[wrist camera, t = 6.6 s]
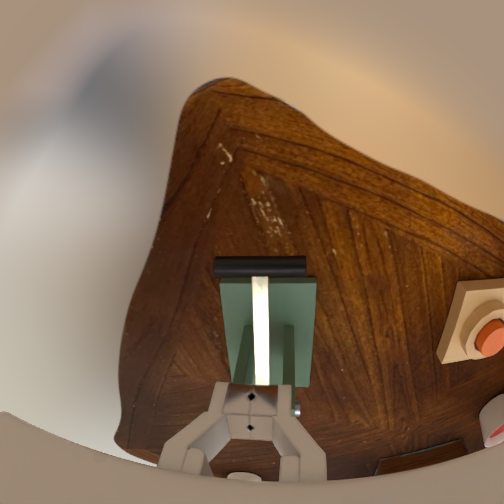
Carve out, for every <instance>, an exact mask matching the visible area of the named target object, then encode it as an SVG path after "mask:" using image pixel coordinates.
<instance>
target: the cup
mask: <svg viewBox="0 0 504 504" xmlns="http://www.w3.org/2000/svg"><path fill="white" fill-rule="evenodd" d="M227 479H237V480H250V481H261V478H260V477H259V476H257V475H255V474H251V473H246V472H234V473H230V474H229V475H228V476H227Z"/></svg>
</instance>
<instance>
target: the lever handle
mask: <svg viewBox="0 0 504 504" xmlns="http://www.w3.org/2000/svg"><path fill="white" fill-rule="evenodd" d="M213 270H214V276H215V277H216V278H252V307H253V336H254V365H255V384H270V298H269V278H305V277H306V256H216V257H215V259H214V264H213Z"/></svg>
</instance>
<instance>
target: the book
mask: <svg viewBox="0 0 504 504" xmlns="http://www.w3.org/2000/svg"><path fill="white" fill-rule="evenodd" d="M466 455H469V454H468V451H467V448H466V446H465V443H464V441H463V440H462V439H461V438H460V439H458V440H455V441H452V442H448V443H445V444H442V445H438V446H435V447H431V448H427V449H424V450H420V451H416V452H412V453H408V454H403V455H399V456H394V457H389V458H384V459H380V461H379V464H378V466H377V469H376V471H375V474H374V476H379V475H385V474H391V473H397V472H402V471H407V470H412V469H417V468H421V467H426V466H430V465H434V464H438V463H442V462H445V461H449V460H452V459H456V458H459V457H462V456H466Z"/></svg>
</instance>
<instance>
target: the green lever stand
mask: <svg viewBox="0 0 504 504" xmlns="http://www.w3.org/2000/svg"><path fill="white" fill-rule="evenodd" d="M219 285H220V293H221V302H222V310H223V319H224V327H225V335H226V342H227V350H228V357H229V365H230V372H231V379H232V383H240V384H255V365H254V336H253V307H252V278H221V281H220V283H219ZM316 287H317V282H316V278H315V277H305V278H269V298H270V384H276V385H291V416H295V417H300V411H301V402H300V401H295V387H309V380H310V370H311V359H312V347H313V334H314V320H315V305H316Z"/></svg>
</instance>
